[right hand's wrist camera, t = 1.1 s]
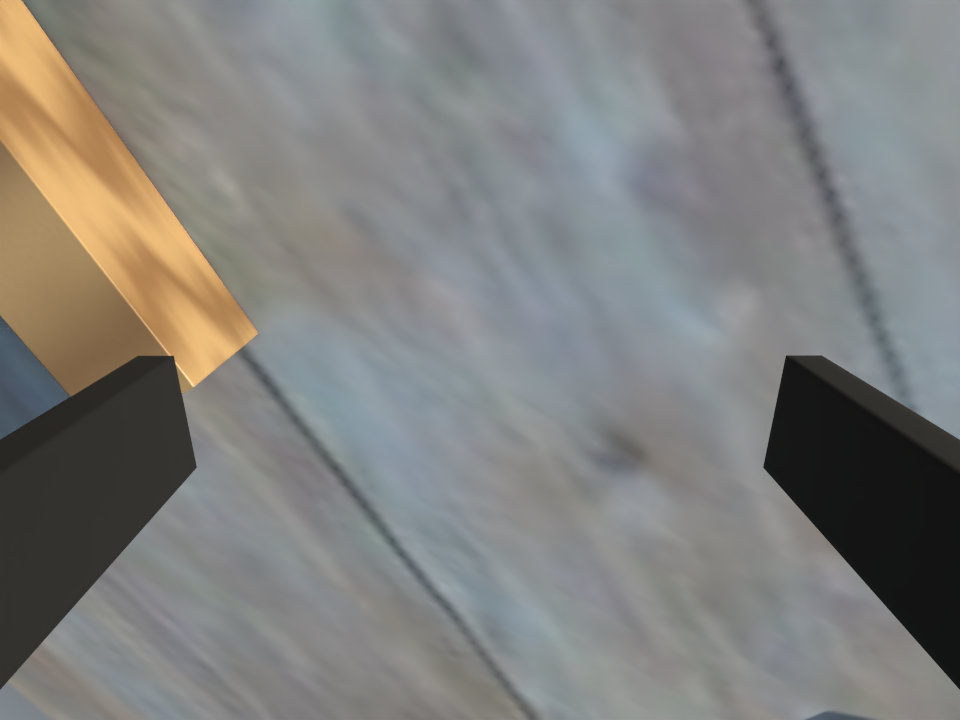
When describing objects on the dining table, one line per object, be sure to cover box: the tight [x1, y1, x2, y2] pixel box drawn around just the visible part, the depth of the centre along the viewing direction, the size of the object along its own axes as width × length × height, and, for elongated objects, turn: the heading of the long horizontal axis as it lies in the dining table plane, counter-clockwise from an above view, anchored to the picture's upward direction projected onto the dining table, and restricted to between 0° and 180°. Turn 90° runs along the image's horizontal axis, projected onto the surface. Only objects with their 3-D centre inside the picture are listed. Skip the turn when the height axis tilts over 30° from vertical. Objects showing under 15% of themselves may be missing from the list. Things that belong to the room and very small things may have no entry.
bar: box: [0, 0, 258, 397], centre depth 26 cm, size 26×5×8 cm, turn 28°
